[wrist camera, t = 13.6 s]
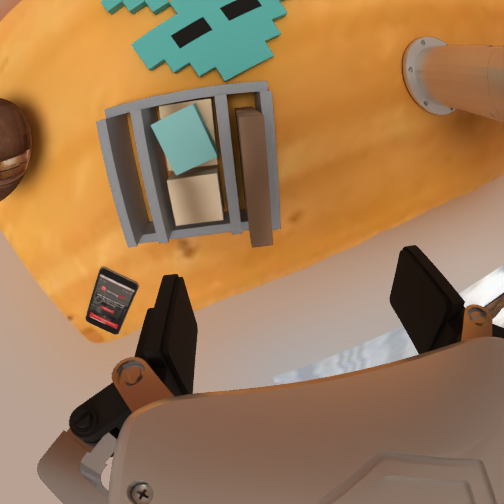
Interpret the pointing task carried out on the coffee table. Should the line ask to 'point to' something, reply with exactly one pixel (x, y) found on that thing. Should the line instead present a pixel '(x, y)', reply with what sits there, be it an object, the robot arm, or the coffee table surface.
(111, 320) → the smartphone
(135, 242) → the rack
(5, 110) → the wooden sphere
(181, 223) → the offcut beech
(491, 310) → the wooden fragment
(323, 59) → the coffee table surface
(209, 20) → the alien figure
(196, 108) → the offcut teal
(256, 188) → the brown block
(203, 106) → the offcut oak wide
